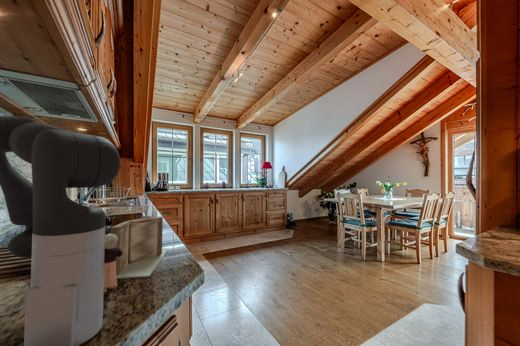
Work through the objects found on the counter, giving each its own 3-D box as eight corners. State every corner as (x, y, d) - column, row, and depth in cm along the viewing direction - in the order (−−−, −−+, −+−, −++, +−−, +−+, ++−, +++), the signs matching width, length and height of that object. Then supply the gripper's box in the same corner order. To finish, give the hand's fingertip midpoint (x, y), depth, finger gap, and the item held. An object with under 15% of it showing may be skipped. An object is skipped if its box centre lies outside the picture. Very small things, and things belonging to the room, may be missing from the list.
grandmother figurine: (100, 297, 48) (102, 238, 49) (86, 295, 49) (87, 237, 50) (128, 281, 56) (129, 230, 56) (115, 280, 57) (116, 229, 57)
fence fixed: (117, 275, 58) (118, 227, 59) (109, 276, 58) (110, 227, 58) (128, 264, 66) (130, 221, 66) (122, 264, 66) (123, 221, 66)
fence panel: (125, 263, 66) (126, 221, 66) (123, 261, 67) (124, 221, 67) (161, 254, 74) (162, 217, 74) (159, 252, 75) (160, 216, 76)
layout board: (149, 276, 59) (149, 274, 59) (100, 279, 57) (100, 277, 57) (168, 249, 81) (168, 247, 81) (134, 250, 79) (134, 249, 79)
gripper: (82, 231, 64) (147, 229, 68) (104, 222, 77) (158, 221, 81) (81, 257, 64) (147, 255, 67) (104, 244, 77) (158, 242, 80)
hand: (153, 236), depth 74 cm, fingers closed
